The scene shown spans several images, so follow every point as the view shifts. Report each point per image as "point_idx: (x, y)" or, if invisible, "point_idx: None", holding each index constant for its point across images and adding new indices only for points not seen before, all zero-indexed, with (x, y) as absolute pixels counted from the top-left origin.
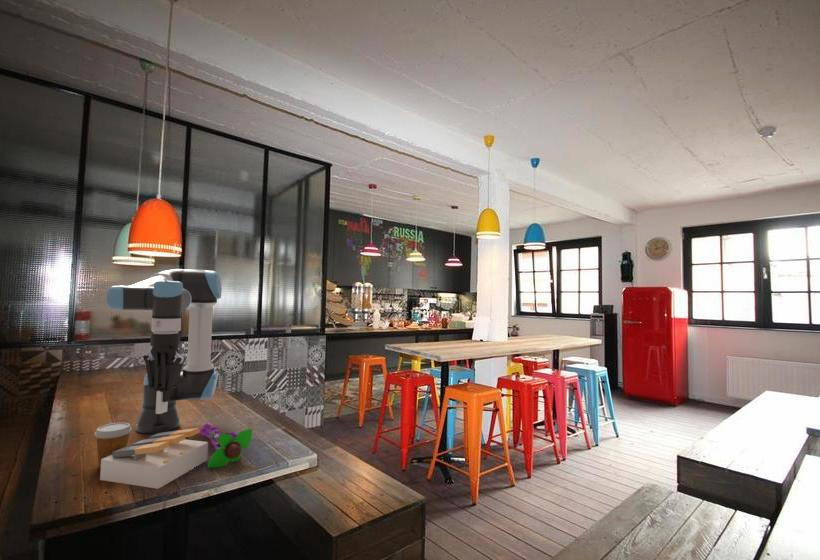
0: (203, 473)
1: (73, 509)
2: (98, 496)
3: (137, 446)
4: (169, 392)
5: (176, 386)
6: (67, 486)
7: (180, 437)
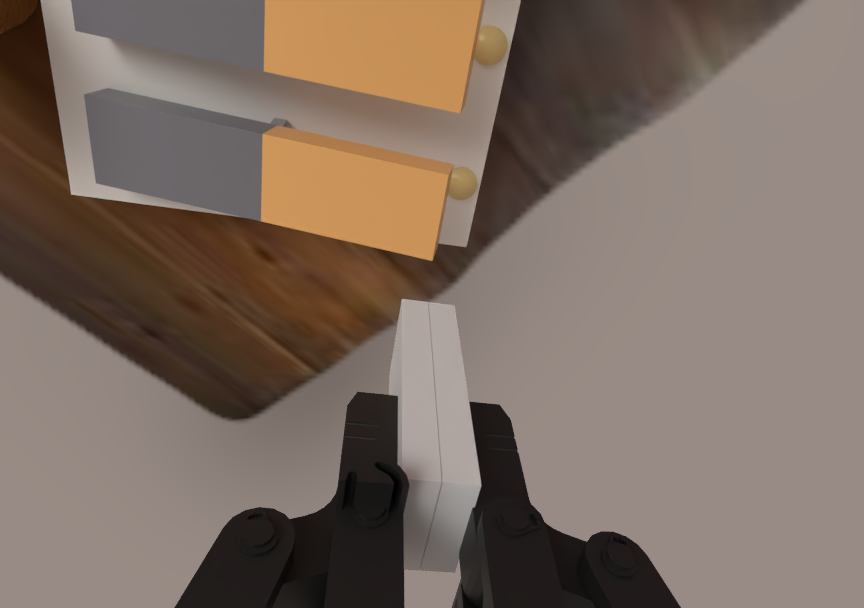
0: (595, 16)
1: (263, 364)
2: (263, 285)
3: (219, 150)
4: (523, 494)
5: (643, 558)
6: (47, 229)
7: (472, 52)
